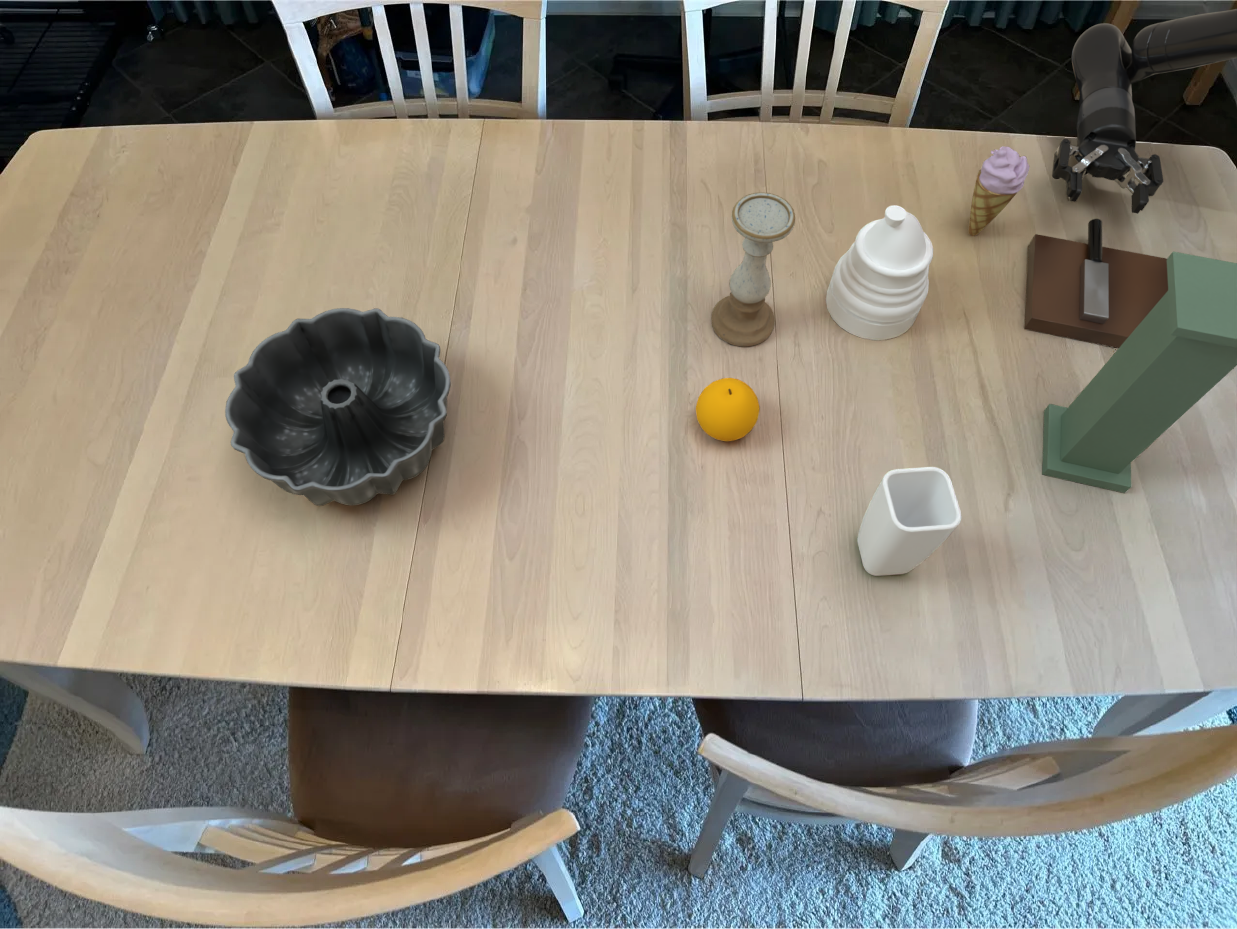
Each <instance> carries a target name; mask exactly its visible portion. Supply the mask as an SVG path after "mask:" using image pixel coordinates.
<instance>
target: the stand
mask: <svg viewBox="0 0 1237 929" xmlns="http://www.w3.org/2000/svg"><path fill="white" fill-rule="evenodd" d="M1166 259H1167V275H1168V291H1167V292H1166V294H1165V295H1164V296H1163V297H1162V298H1161V299H1160V301H1159V302H1158V303H1157V304H1156V305H1155V306H1154V308H1153V309H1152V310H1151V311H1150V312H1149V313H1148V315H1147V316H1146V317H1145V318H1144V319H1143V320H1142V322H1141V323H1140V324H1139V325H1138V326H1137V327H1136V329H1135V330H1134V331H1133V332H1132V333H1131V335H1130V336H1129V337H1128V338H1127V339H1126V340H1125V342H1124V343H1123V344H1122V345H1121V346H1120V347H1119V348H1117V350H1115V352H1114V353H1113V354H1112V356H1111V357H1110V358H1109V359H1108V360H1107V361H1106V362H1105V364H1104V365H1103V366H1102V367H1101V368H1100V369H1099V371H1098V372H1097V373H1096V374H1095V376H1094V377H1093V378H1092V379H1091V380H1090V381H1089V382H1088V384H1087V385H1086V386H1085V387H1084V388H1083V390H1082V391H1081V392H1079V394H1078V395H1077V397H1075V399H1074V400H1073V401H1072V402H1071V403H1070V404H1069V405H1068V406H1067V407H1066V406H1062V405H1057V404H1052V403H1049V404H1047V406H1046V407H1045V409H1044V410H1043V431H1042V433H1043V437H1042V439H1043V440H1042V441H1043V442H1042V463H1041V464H1042V465H1041V466H1042V467H1041V475H1042V476H1047V477H1050V478H1056V479H1060V480H1065V481H1069V482H1073V483H1077V484H1081V485H1082V484H1083V485H1086V486H1092V487H1096V488H1100V489H1104V490H1109V491H1112V492H1113V491H1114V492H1117V493H1123V494H1125V493H1127V492H1128V491H1129V490H1130V489H1132V462H1134V461H1135V460H1136V459H1137V458H1138V457H1139V456H1140V455H1141V454H1142V453H1143V452H1144V451H1146V450H1147V449H1148V448H1149V447H1150V446H1151V445H1152V444H1153V443H1154V442H1156V440H1157V439H1158V438H1160V437H1161V436H1162V435H1164V433H1165V432H1166V431H1168V430H1169V428H1170V427H1171V426H1172V425H1174V424H1175V423H1176V422H1177V421H1178V420H1180V419H1181V417H1182V416H1184V414H1186V413H1187V412H1188V411H1189V410H1190V409H1191V408H1192V407H1194V406H1195V405H1196V404H1197V403H1198V402H1199V401H1200V400H1201V399H1202V398H1203V397H1204V396H1206V394H1208V392H1210V391H1211V390H1212V389H1213V388H1214V387H1215V386H1217V384H1218V383H1219V382H1221V381H1222V380H1223V379H1224V378H1225V377H1227V375H1228V374H1229V373H1230V372H1231V371H1233V369H1235V368H1236V367H1237V262H1233V261H1227V260H1222V259H1217V258H1210V257H1207V256H1206V257H1205V256H1200V255H1195V254H1190V253H1185V252H1179V251H1172V252H1171V253H1170V254H1169V256H1168V257H1167V258H1166Z"/></svg>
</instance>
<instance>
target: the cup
mask: <svg viewBox="0 0 1237 929" xmlns="http://www.w3.org/2000/svg"><path fill="white" fill-rule="evenodd" d="M956 494H957V493H956V491H955V488H954V485H953V482H952V479H951V477H950V476H949V474H948V472H946V471H945V470H943V469H942V468H940V467H937V466H922V467H921V466H920V467H910V468H909V467H908V468H895V469H891V470H889V471H887V472H886V473H885V474H884V475H883V477H882V479H881V481H880V482H879V484H878V485H877V487H876V490H875V491H874V493H873V495H872V497H871V499H870V501H869V504H868V506H867V507H866V511H865V512H864V514H863V517H862V520H861V524H860V526H859V529H858V534H857V539H856V540H857V546H858V549H859V554H860V558H861V563H862V566H863V568H864V570H865V571H866V573H867V574H869V575H871V576H876V577H880V576H881V577H882V576H892V575H893V576H894V575H904V574H908V573H909V572H911V571H912V570H914V569H915V568H917V567H918V566H920V565H921V564H922V563H923V562H924V561H925V560H927V559H928V558H930V556H931V555H933V553H934V552H935V551H937V550H938V548H940V547H941V546H942V544H944V543H945V541H946V540H947V539H948V538H949V537H950V536H951V535H952V533H953V532H955V530H956V529H957V527H958V526H959V525H960V523H961V521H962V511H961V507H960V505H959V501H958V497H957V495H956Z"/></svg>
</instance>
